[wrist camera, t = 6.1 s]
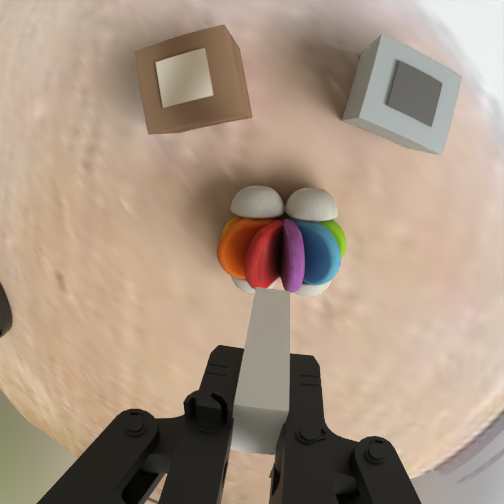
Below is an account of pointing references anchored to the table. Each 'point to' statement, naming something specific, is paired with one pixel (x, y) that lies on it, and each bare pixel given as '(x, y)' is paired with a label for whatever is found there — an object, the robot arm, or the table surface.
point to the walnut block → (193, 82)
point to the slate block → (403, 96)
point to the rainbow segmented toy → (282, 240)
